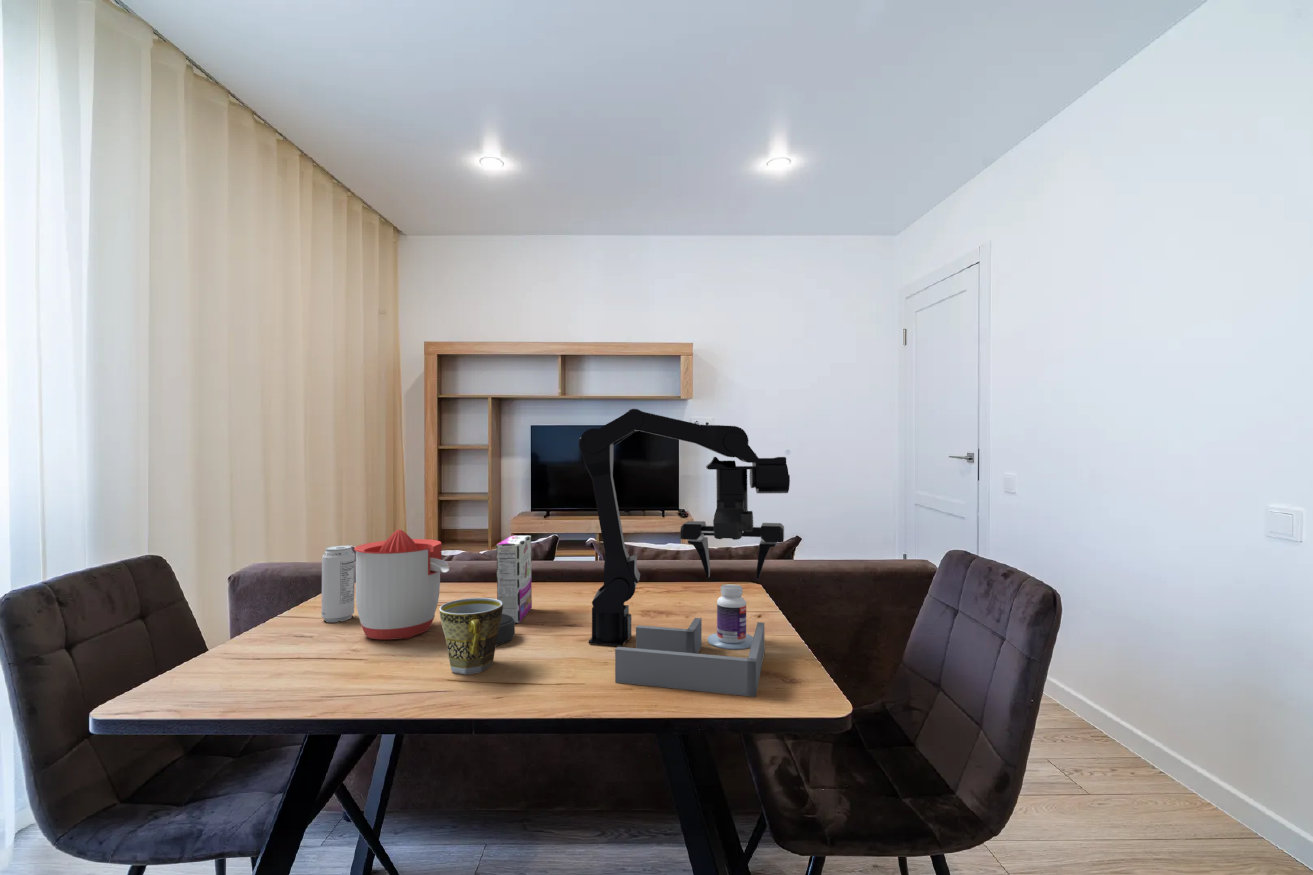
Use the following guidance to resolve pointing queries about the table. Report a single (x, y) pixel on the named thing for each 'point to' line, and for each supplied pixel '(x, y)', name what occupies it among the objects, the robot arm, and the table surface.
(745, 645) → the pad
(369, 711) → the table surface
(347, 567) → the energy drink can
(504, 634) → the smart speaker
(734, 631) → the pill bottle
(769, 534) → the robot arm
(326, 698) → the table surface
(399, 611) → the citrus juicer
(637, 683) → the channel
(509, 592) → the candy bar box
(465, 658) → the ceramic cup
